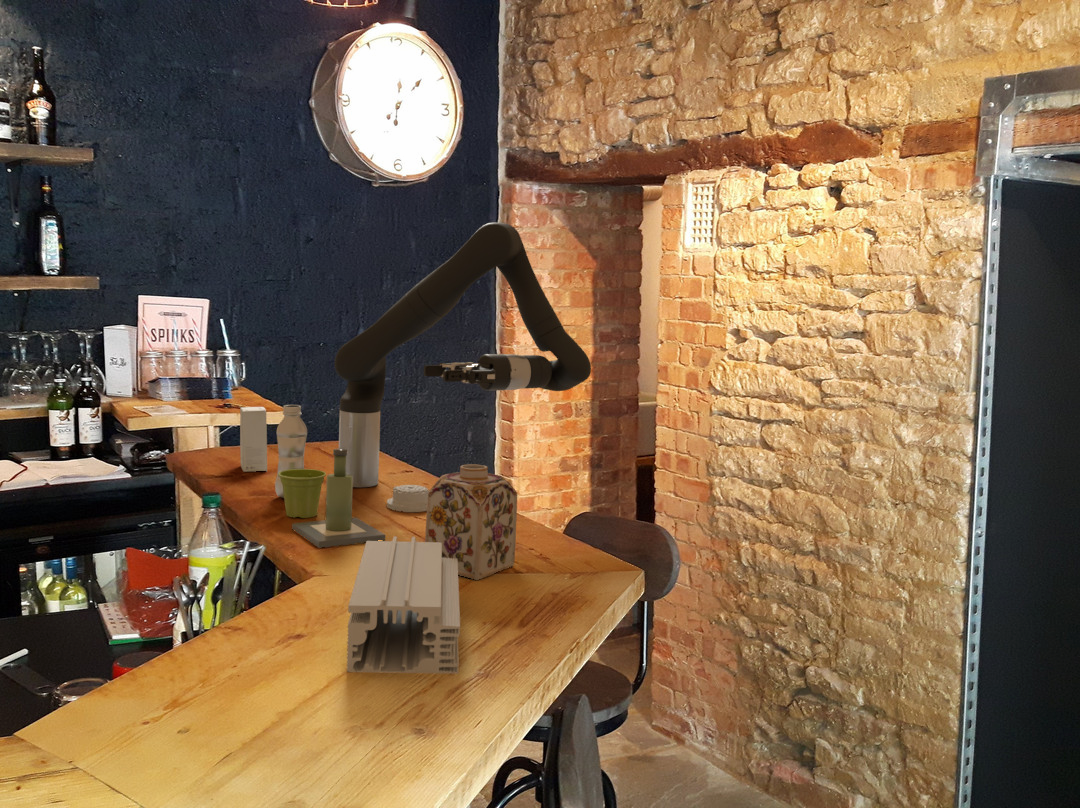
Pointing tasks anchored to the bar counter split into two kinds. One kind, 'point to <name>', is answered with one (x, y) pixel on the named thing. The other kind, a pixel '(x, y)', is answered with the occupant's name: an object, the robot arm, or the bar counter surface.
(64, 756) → the bar counter surface
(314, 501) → the plant pot
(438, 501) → the decorative jar
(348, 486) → the bitters bottle
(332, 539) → the board
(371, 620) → the aluminum extrusion profile
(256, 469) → the skincare box
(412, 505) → the mechanical component
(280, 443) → the plastic bottle
